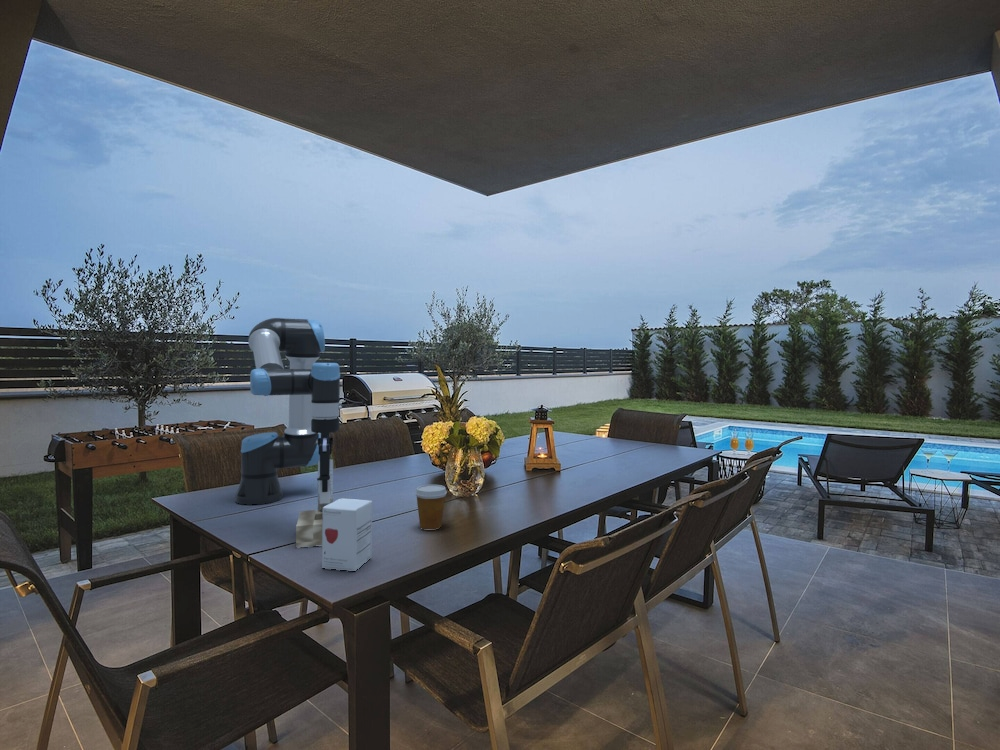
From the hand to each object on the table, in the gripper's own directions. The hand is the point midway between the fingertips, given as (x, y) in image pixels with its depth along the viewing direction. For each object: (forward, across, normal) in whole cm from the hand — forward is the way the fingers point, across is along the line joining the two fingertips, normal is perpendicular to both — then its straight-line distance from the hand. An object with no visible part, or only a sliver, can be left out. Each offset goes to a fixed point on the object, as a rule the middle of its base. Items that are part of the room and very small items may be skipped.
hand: (325, 500), depth 143 cm
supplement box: (+11, -21, -6) cm, 24 cm away
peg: (+3, 0, 0) cm, 3 cm away
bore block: (+10, 0, 0) cm, 10 cm away
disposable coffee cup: (+11, +1, -30) cm, 32 cm away
